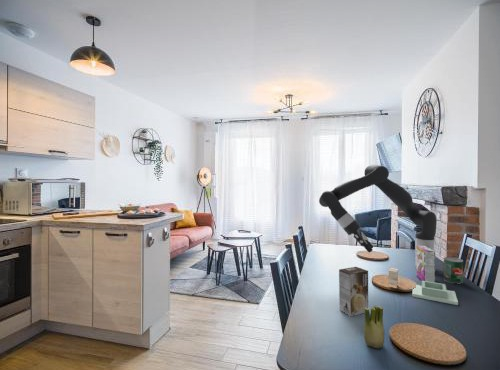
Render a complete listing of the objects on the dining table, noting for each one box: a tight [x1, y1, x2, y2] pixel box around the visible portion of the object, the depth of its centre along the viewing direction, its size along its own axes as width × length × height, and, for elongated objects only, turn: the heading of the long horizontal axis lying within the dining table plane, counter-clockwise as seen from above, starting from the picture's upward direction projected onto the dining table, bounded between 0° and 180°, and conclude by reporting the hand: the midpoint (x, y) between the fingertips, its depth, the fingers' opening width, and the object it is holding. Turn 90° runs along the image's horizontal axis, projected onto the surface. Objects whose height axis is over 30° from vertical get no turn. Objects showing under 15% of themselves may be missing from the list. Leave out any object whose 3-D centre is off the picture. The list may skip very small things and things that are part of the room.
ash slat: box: [388, 267, 399, 286], centre depth 131 cm, size 4×4×8 cm
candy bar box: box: [415, 246, 436, 283], centre depth 139 cm, size 11×5×16 cm, turn 168°
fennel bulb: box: [363, 305, 385, 349], centre depth 84 cm, size 6×5×12 cm
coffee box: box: [338, 266, 369, 317], centre depth 106 cm, size 9×6×16 cm
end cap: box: [411, 280, 459, 306], centre depth 121 cm, size 13×16×4 cm
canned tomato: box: [443, 256, 464, 285], centre depth 138 cm, size 8×8×11 cm
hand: (371, 249), depth 135 cm, fingers open, 8 cm apart
